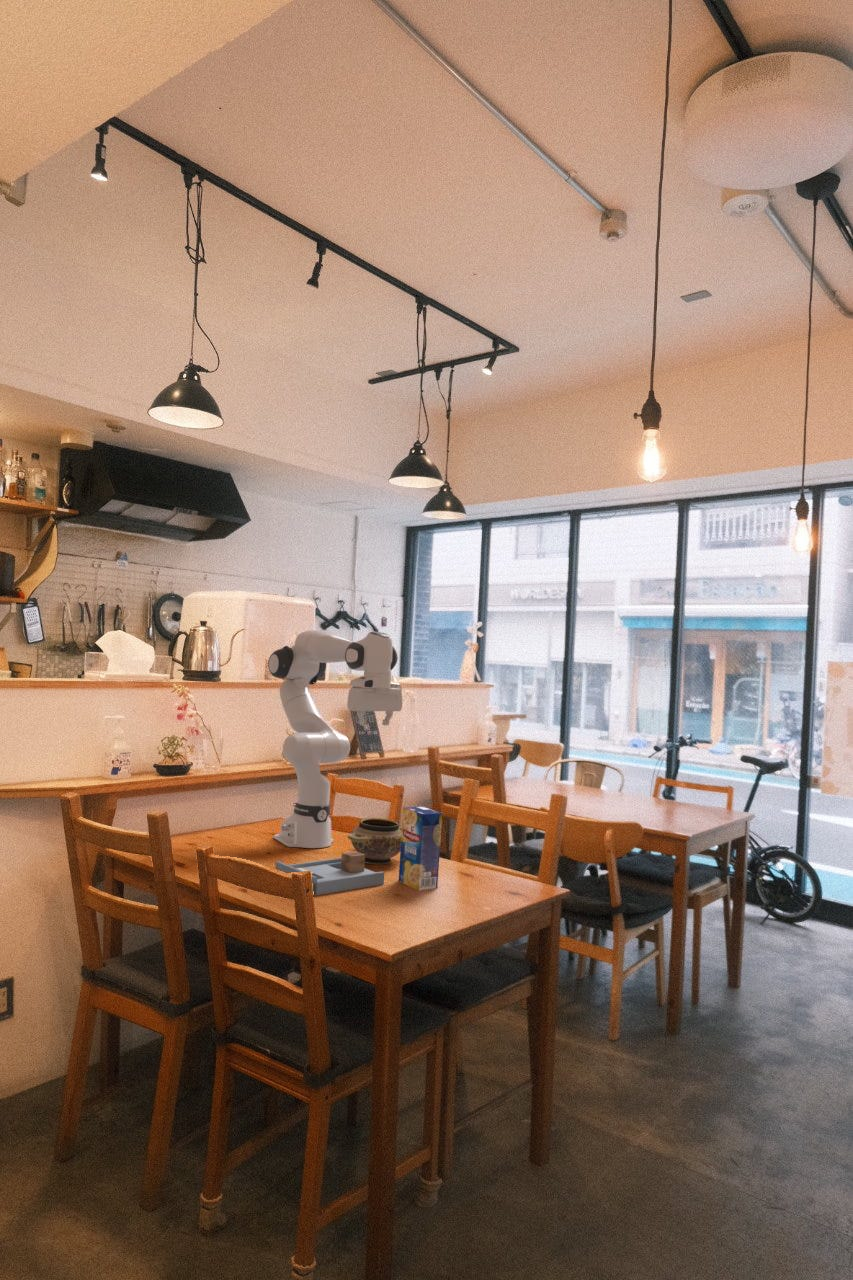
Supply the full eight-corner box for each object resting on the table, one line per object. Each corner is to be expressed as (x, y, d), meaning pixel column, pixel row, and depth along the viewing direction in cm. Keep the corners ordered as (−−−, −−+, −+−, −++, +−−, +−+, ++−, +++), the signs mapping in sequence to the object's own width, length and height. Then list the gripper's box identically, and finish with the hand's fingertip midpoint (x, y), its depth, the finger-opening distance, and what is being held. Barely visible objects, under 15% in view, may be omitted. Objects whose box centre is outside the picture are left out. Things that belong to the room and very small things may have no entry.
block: (340, 869, 249) (341, 852, 249) (354, 867, 252) (355, 851, 252) (350, 873, 245) (351, 856, 245) (364, 871, 248) (365, 854, 248)
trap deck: (274, 878, 243) (275, 861, 243) (343, 868, 260) (344, 852, 260) (313, 895, 228) (314, 877, 229) (383, 884, 245) (384, 867, 245)
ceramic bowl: (357, 879, 259) (368, 835, 256) (327, 852, 272) (337, 810, 269) (417, 870, 275) (427, 828, 272) (385, 845, 288) (395, 805, 285)
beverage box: (417, 878, 254) (422, 806, 254) (437, 888, 245) (442, 813, 245) (398, 880, 250) (403, 807, 250) (418, 890, 241) (423, 814, 241)
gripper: (395, 682, 276) (393, 724, 276) (345, 680, 263) (343, 724, 262) (407, 683, 272) (405, 726, 271) (358, 681, 258) (355, 726, 258)
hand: (374, 725), depth 267 cm, fingers open, 8 cm apart
